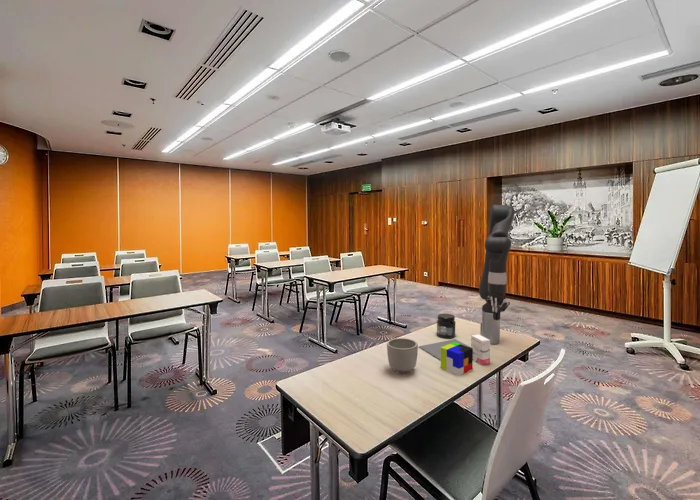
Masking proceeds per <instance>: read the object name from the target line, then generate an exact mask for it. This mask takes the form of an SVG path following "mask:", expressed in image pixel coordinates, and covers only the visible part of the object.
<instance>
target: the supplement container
mask: <svg viewBox="0 0 700 500" xmlns="http://www.w3.org/2000/svg"><path fill="white" fill-rule="evenodd" d="M456 323H457V322H456V317H455V315H454V314H451V313H439V314H437V320H436V335H437V336H438V337H439V338H442V339H452V338H453V339H454V338H455V336H456Z"/></svg>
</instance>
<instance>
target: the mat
mask: <svg viewBox="0 0 700 500" xmlns="http://www.w3.org/2000/svg"><path fill="white" fill-rule="evenodd" d="M454 342H455V343H458V344H461V345H464V346H467V347H470V348H471V345H468V344H466V343H464V342H462V341H460V340H458V339H456V338H453V339H449V340H443V341H440V342H439V341H438V342H434V343H428V344H423V345H418V349H421V350H422V351H424V352H426V353H427V354H429V355H431V356H432V357H434V358H435V359H437V360H438V361H440V362H441V347H443V346H446V345H448V344H451V343H454Z"/></svg>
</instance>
